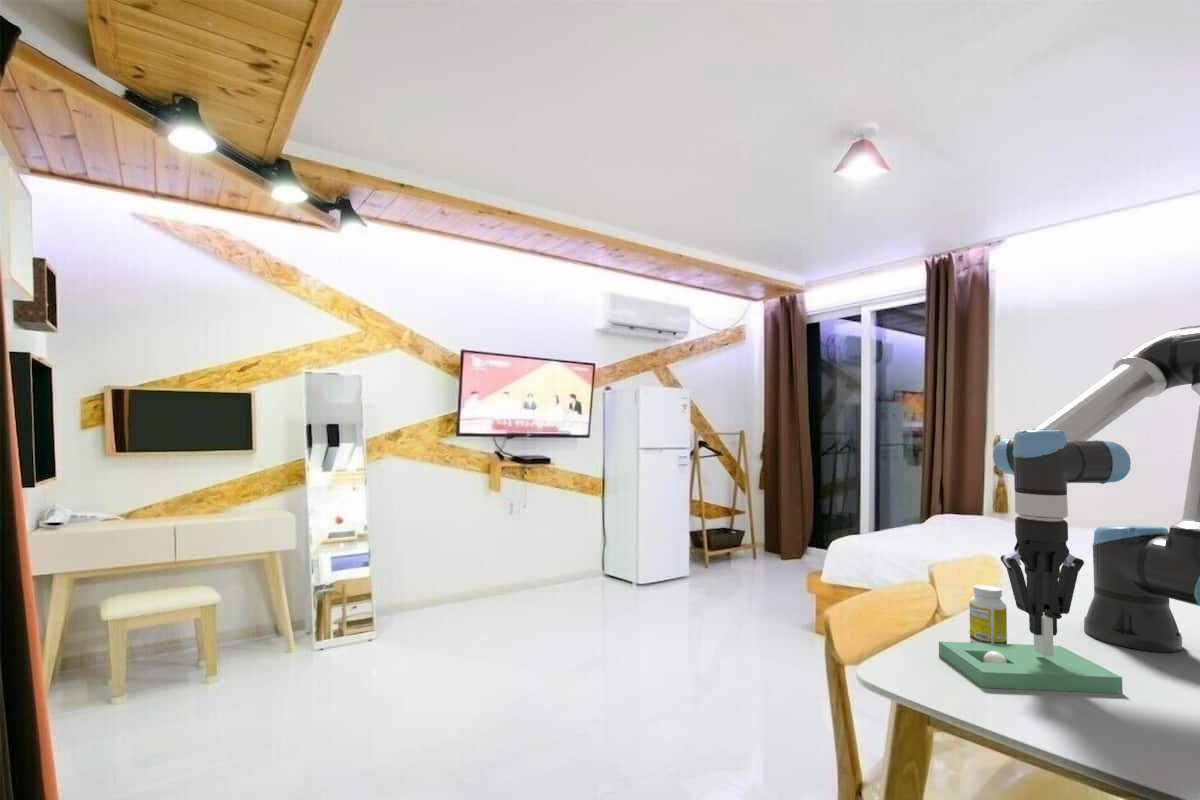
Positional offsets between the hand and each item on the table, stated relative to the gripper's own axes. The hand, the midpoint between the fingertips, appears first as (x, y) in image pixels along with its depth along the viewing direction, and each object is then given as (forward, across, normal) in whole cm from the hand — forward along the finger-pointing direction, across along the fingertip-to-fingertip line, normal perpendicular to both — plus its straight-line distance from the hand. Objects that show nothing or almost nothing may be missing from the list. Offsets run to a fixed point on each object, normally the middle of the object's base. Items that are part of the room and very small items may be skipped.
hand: (1043, 653), depth 105 cm
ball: (+2, +8, 0) cm, 9 cm away
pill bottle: (+4, +2, -14) cm, 14 cm away
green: (+3, +4, 0) cm, 5 cm away
